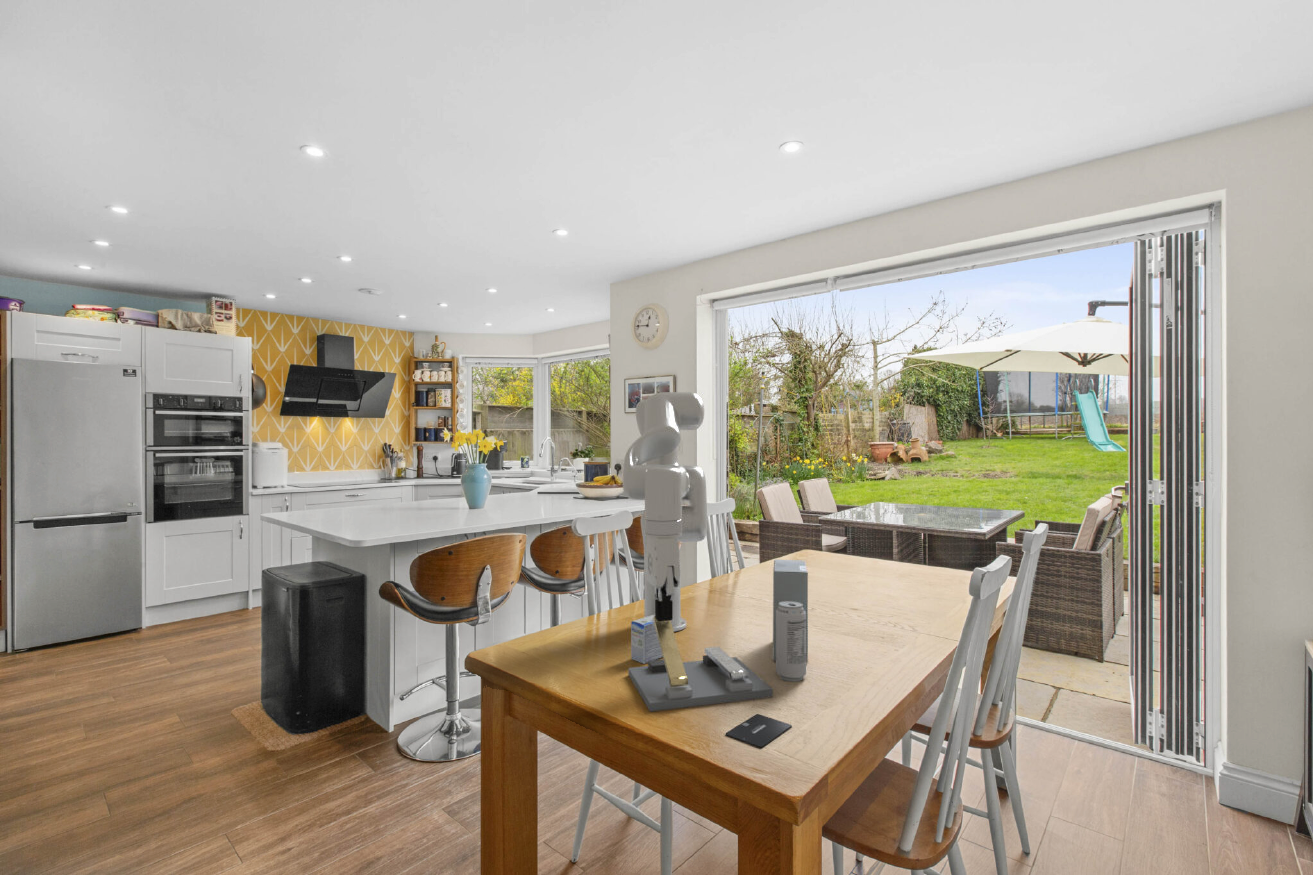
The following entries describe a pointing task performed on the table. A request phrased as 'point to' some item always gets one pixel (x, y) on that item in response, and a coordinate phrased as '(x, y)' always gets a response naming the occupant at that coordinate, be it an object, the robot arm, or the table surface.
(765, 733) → the solid state drive
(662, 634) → the brass strap
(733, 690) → the board
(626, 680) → the table surface
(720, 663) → the steel strap
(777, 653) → the energy drink can
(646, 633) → the medicine box
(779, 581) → the hard drive box
